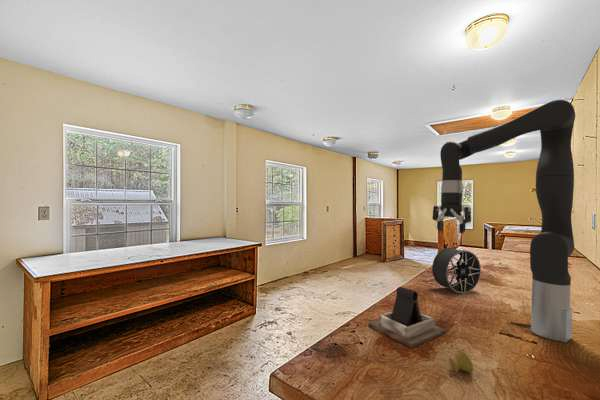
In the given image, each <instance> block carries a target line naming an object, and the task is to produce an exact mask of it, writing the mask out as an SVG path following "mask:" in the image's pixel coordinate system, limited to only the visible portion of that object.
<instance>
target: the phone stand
mask: <svg viewBox="0 0 600 400" xmlns="http://www.w3.org/2000/svg"><path fill="white" fill-rule="evenodd" d="M395 291H396V296H395V299H394V301H395V302H394V305H393V309H392V311H393V312H392V311H391V312H392V316H391V320H394V321H396V322H398V323H400V324H403V325H405V326H407V327H408V326H411V325H413V324H416V323H419V322H422V320H421V315H420V313H421V310H420V306H419V300H418V299H419V295H418V294H419V293H418V292H417V291H415V290H412V289H409V288H406V287H403V286H400V287H399V286H398V287H397V289H396V290H395Z"/></svg>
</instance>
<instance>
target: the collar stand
mask: <svg viewBox="0 0 600 400" xmlns="http://www.w3.org/2000/svg"><path fill="white" fill-rule="evenodd" d="M392 312H393V310H392V311H389V312H385V313H382V314H379V315H378V319H376V320H373V321H371V322H368V327H370V328H371V329H374V330H376V331H377V332H378V333H379V332H380V333H381V334H383V335H385V336H387V337H390V338H391V339H393V340H394V341H396V342H399V343H400V344H403V345H405V346H406V347H409V348H410V349H413V348H415V347H417V346H419V345H422V344H424V343H425V342H428V341H431V340H433V339H435V338H437V337H440V336H443V335H444V334H446V333H447V332H446V331H447V330H446V329H444V328H442V327H440V326H437V325H436V318H434V317H431V316H428V315H426V314H423V313H421V312H420V315H421V320H422V322H419V323H416V324H413V325H411V326H408V327H407V326H405V325H403V324H400V323H398V322H396V321H394V320H391V316H392Z"/></svg>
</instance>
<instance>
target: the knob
mask: <svg viewBox="0 0 600 400" xmlns="http://www.w3.org/2000/svg"><path fill="white" fill-rule="evenodd" d="M456 352H457V353H456V354H455V357H454V358H453V357H449V358H448V361H449V365H451V366H450V367H451V368H452V370H453V369H454V370H455V371H456V372H455V371H454V370H453V371H454V372H455V373H458V372H459V371H460V370H462V371H464V372H466V373H469V374H473V373H474V364H473V362H472V360H471V358H470V356H469V355H468V354H467V353H466V352H465V351H463V350H461V349H458V350H457V351H456Z"/></svg>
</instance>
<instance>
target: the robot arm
mask: <svg viewBox="0 0 600 400" xmlns="http://www.w3.org/2000/svg"><path fill="white" fill-rule="evenodd" d="M575 121H576V112H575V107H574V105H573V104H572V103H571V102H570V101H569V100H564V99H554V100H550V101H548V102H545V103H543V104H542V105H540V106H538V107H536V108H534V109H532V110H530V111H528V112H527V113H524V114H522V115H520V116H518V117H516V118H514V119H511V120H510V121H509V120H508V121H506V122H504V123H502V124H500V125H496V126H494V127H492V128H488V129H485V130H483V131H480V132H478V133H477V132H476V133H475V134H473V135H469V136H468V138H467V139H465V140H462V141H461V142H458V143H457V142H455V141H447V142H445V143H444V144H443V145H442V147H441V149H440V154H439V155H440V163H441V167H442V174H441V175H442V180H441V189H440V190H441V192H440V203H441V204H440V206H439V205H434V206H433V209H432V220H433V221H435V222H437V223H436V225H437V226H436V230H438V232H442V231H443V227H444V225H443V224H444V222H443V221H444V220H445V219H446V218H455V219H456V220H458V222H459V225H458V226H459V228H458V229H459V231H458V233H459V234H464V233H465V232H466V224H468V223H471V222H472V209H471V207H470V206H462V204H463V169H462V167H461V165H460V160H461V161H462V160H463V159H466V158H468V157H471V156H472V155H474V154H477V153H481V152H484V151H487V150H490V149H493V148H495V147H498V146H500V145H503V144H505V143H507V142H509V141H511V140H513V139H515V138H517V137H519V136H522V135H525V134H526V135H527V134H529V133H532V132H537V131H539V132H540V142H541V145H540V147H541V148H540V154H539V157H538V161H537V166H536V171H535V194H536V198H537V202H538V206H539V209H540V212H541V227H540V228H541V229H540V233H537V234H536V235H534V236H533V237H532V239H531V242H530V244H529V245H530V247H529V264H530V265H529V266H530V271H531V274H532V275H531V276H532V278H531V283H532V284H531V285H532V286H531V317H530V331H531V333H534V334H535V335H537V336H539V337H542V338H545V339H549V340H552V341H557V342H561V343H565V344H566V343H567V342H568V341H570V340H571V339H572V338H573V337H572V335H573V331H572V330H573V308H572V307H571V285H572V277H571V275H570V273H569V257H571V255H573V252H574V250H575V239H574V234H573V223H572V212H573V202H574V190H575V169H574V160H573V159H574V158H573V153H572V138H573V131H574V130H573V129H574V126H575ZM462 212H463V213H464V216H463V214H462Z"/></svg>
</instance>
